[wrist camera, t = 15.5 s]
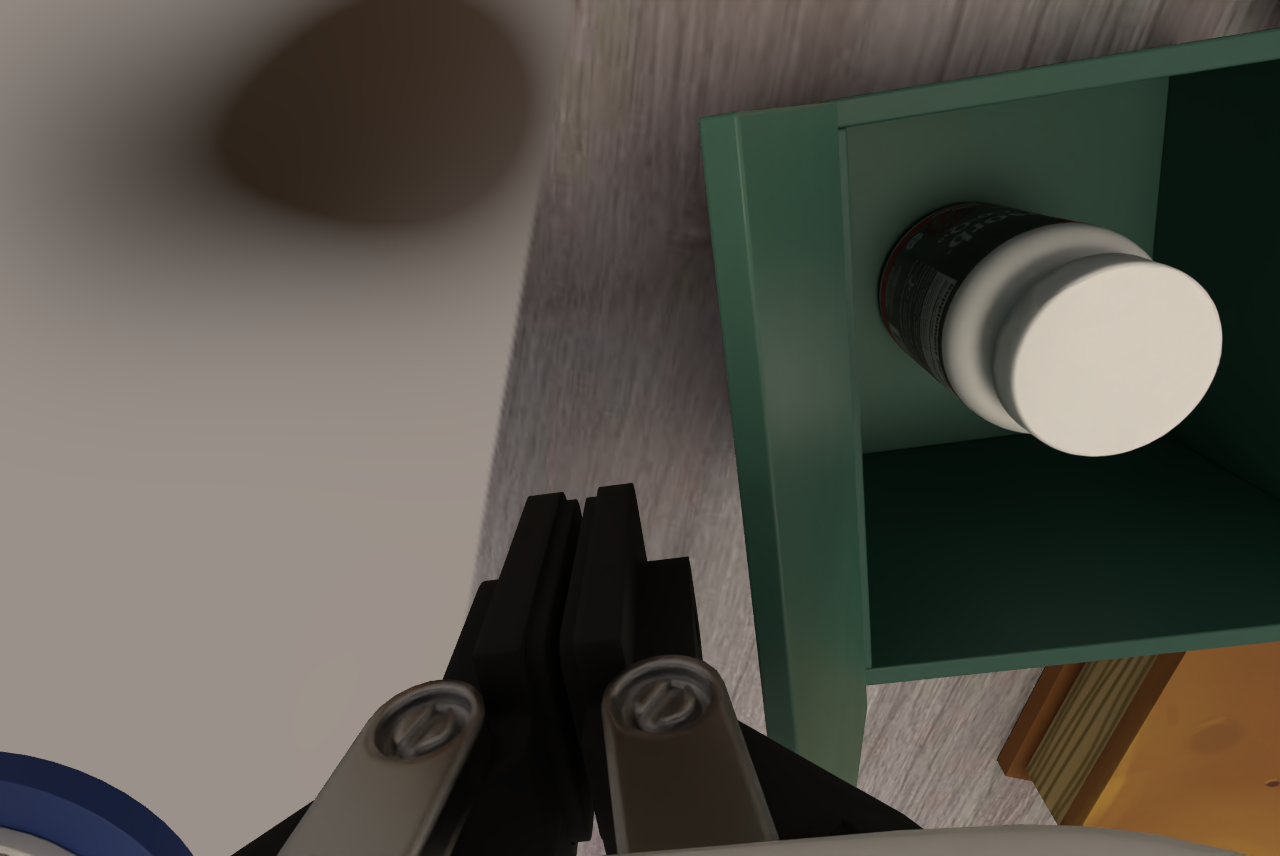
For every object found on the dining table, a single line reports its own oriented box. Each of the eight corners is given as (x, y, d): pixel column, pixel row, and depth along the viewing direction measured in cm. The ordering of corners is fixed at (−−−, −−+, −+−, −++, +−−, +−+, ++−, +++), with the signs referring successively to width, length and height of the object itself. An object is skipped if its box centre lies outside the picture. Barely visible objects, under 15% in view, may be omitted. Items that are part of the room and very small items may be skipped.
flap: (867, 707, 17) (849, 705, 17) (837, 101, 13) (813, 105, 13) (824, 1024, 11) (797, 1017, 12) (738, 111, 7) (696, 118, 7)
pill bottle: (1049, 193, 25) (1278, 227, 16) (1031, 357, 27) (1226, 470, 18) (876, 208, 25) (1003, 249, 16) (871, 368, 27) (982, 486, 18)
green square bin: (774, 471, 30) (852, 688, 18) (741, 118, 25) (818, 101, 13) (1141, 424, 29) (1477, 621, 17) (1177, 48, 24) (1673, -36, 12)
